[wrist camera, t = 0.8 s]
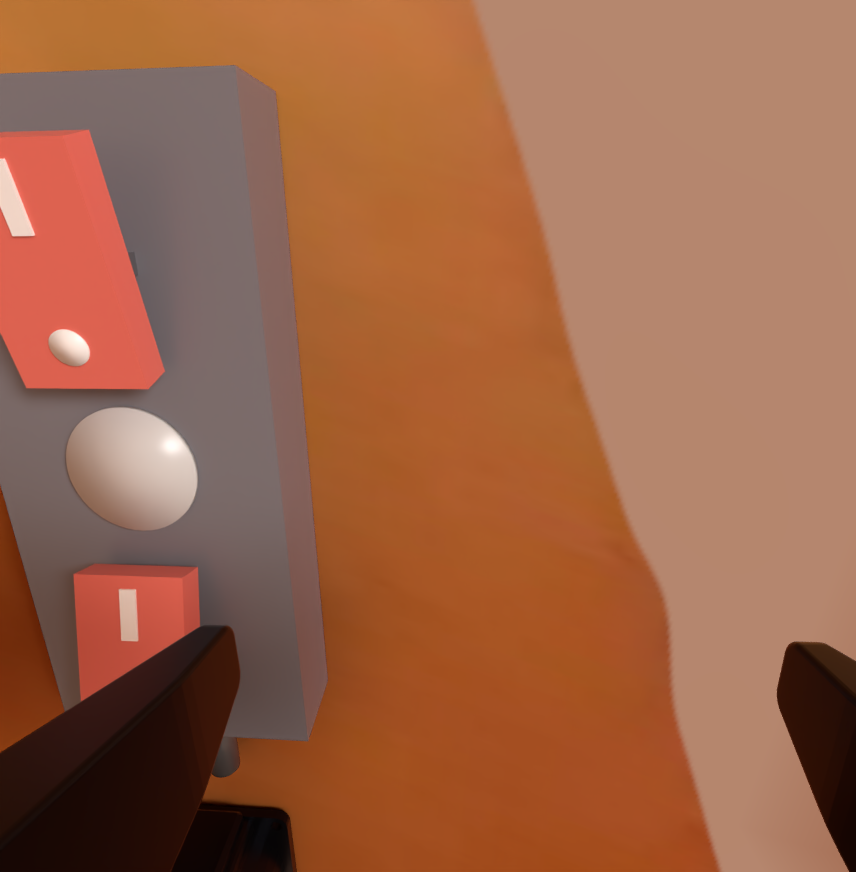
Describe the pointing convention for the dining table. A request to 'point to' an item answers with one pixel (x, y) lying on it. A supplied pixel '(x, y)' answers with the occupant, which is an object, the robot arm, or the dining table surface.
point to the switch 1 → (67, 270)
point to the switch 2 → (130, 617)
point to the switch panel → (181, 389)
